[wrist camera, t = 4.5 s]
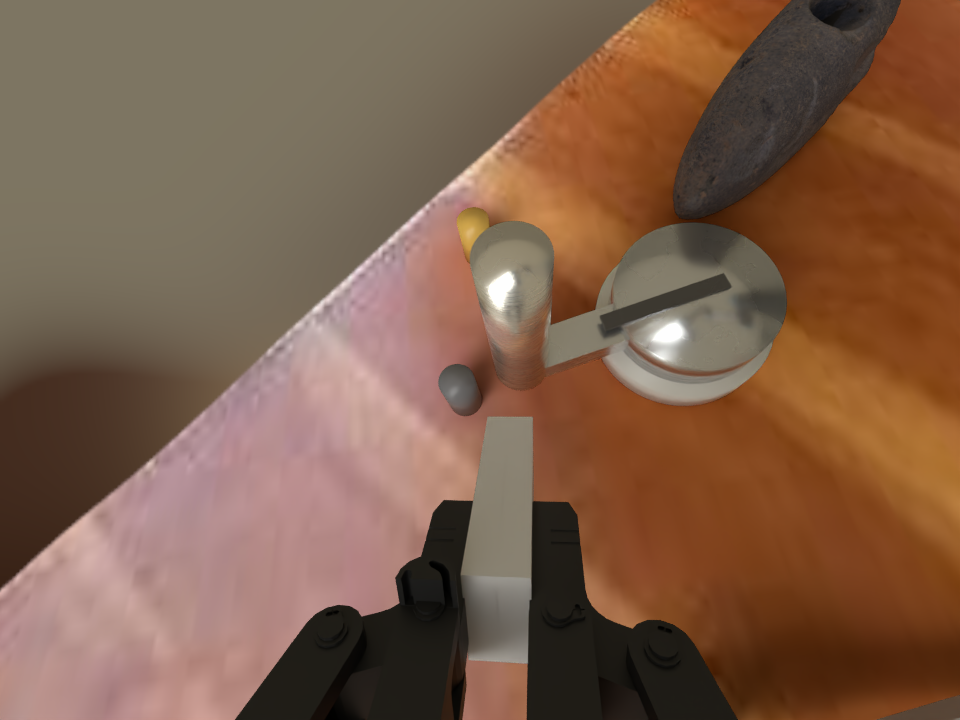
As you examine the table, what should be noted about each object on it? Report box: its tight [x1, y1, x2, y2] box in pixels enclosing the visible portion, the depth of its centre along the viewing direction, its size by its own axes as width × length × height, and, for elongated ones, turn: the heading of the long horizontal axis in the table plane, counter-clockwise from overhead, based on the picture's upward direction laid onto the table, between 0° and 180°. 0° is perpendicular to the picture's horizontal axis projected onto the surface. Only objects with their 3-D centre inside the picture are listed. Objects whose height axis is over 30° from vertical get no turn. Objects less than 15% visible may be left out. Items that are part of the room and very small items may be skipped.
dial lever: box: [470, 221, 787, 391], centre depth 18 cm, size 13×7×9 cm, turn 108°
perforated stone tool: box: [673, 0, 901, 219], centre depth 25 cm, size 15×5×7 cm, turn 136°
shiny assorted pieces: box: [438, 207, 773, 416], centre depth 24 cm, size 16×13×3 cm
